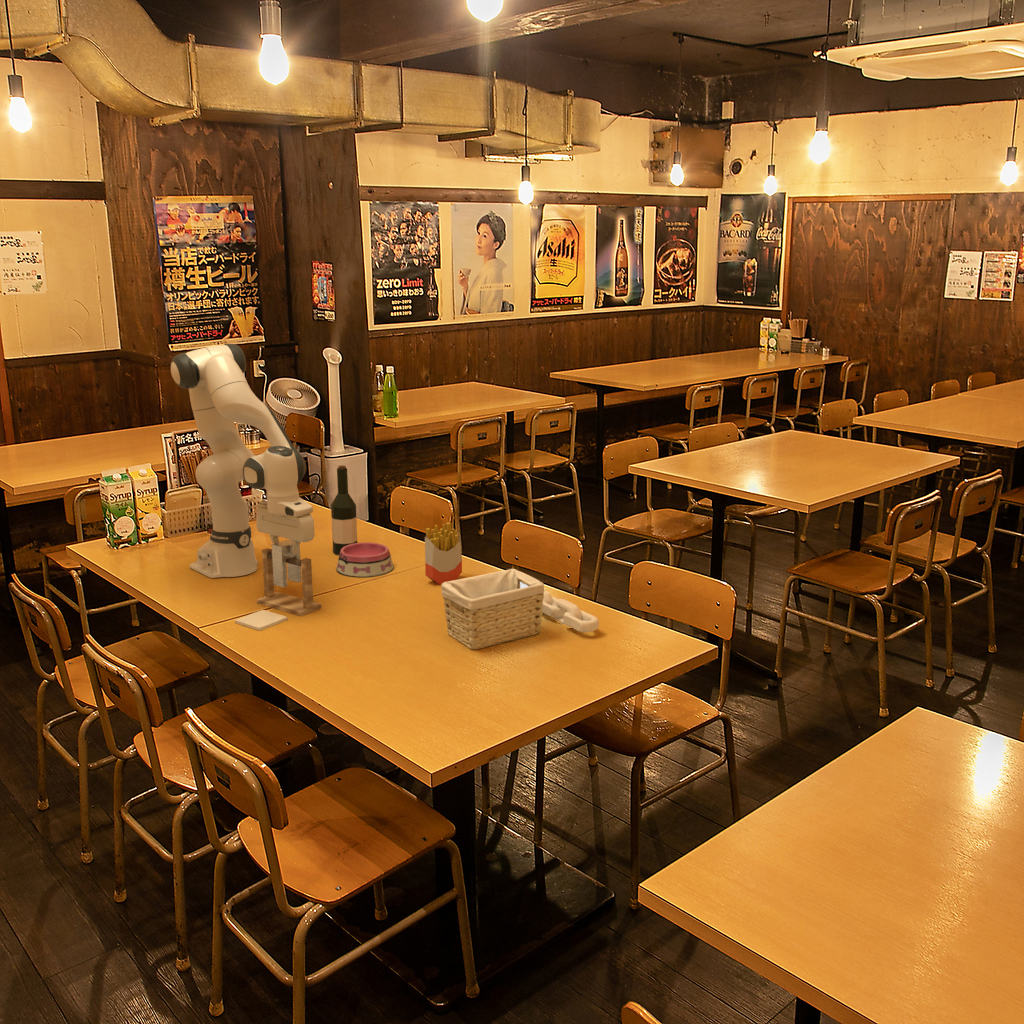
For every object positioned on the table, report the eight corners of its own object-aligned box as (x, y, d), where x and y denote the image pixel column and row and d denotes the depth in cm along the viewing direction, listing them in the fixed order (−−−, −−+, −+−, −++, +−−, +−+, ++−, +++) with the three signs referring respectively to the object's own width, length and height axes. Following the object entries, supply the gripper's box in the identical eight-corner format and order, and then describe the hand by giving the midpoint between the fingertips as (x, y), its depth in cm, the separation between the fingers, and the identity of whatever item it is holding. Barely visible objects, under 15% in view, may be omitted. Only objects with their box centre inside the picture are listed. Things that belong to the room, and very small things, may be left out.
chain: (519, 606, 280) (519, 586, 278) (536, 602, 283) (536, 582, 282) (583, 640, 256) (584, 618, 254) (601, 635, 259) (602, 613, 258)
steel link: (273, 584, 275) (271, 544, 272) (291, 578, 281) (289, 539, 278) (283, 587, 273) (281, 547, 270) (301, 581, 279) (299, 541, 276)
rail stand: (257, 603, 280) (253, 552, 276) (278, 595, 287) (275, 545, 283) (300, 616, 271) (297, 563, 267) (321, 608, 277) (319, 556, 273)
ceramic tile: (234, 622, 266) (234, 620, 265) (262, 612, 273) (262, 609, 273) (259, 630, 260) (259, 628, 260) (287, 619, 268) (287, 617, 268)
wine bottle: (327, 552, 329) (324, 466, 321) (347, 547, 334) (344, 462, 327) (343, 557, 323) (339, 469, 315) (362, 552, 329) (359, 466, 321)
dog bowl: (404, 571, 310) (403, 551, 308) (351, 582, 300) (350, 561, 298) (378, 557, 325) (377, 537, 323) (326, 566, 315) (326, 546, 313)
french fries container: (462, 579, 302) (462, 524, 297) (433, 586, 296) (432, 530, 291) (454, 576, 305) (454, 521, 301) (425, 582, 299) (424, 526, 294)
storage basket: (469, 653, 247) (469, 599, 243) (439, 633, 260) (438, 581, 256) (546, 635, 259) (547, 583, 255) (514, 616, 272) (514, 566, 268)
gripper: (249, 501, 274) (252, 547, 278) (300, 512, 263) (302, 560, 267) (266, 496, 279) (269, 542, 283) (317, 507, 268) (319, 555, 272)
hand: (286, 551), depth 275 cm, fingers open, 5 cm apart
